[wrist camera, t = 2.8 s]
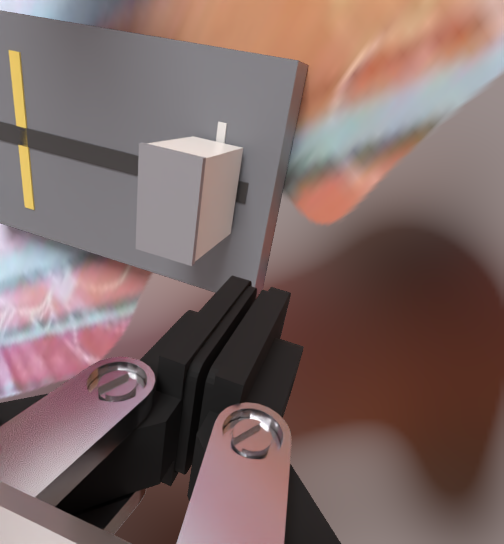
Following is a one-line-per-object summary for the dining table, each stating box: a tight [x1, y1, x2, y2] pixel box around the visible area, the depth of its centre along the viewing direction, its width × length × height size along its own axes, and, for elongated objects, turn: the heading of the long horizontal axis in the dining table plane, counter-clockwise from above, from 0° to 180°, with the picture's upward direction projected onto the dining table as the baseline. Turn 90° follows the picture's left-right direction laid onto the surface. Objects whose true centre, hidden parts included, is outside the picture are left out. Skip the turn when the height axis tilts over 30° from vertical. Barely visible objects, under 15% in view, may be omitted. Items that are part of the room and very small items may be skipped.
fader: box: [136, 136, 243, 266], centre depth 20 cm, size 3×5×5 cm, turn 170°
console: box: [0, 11, 308, 297], centre depth 25 cm, size 23×14×3 cm, turn 80°
